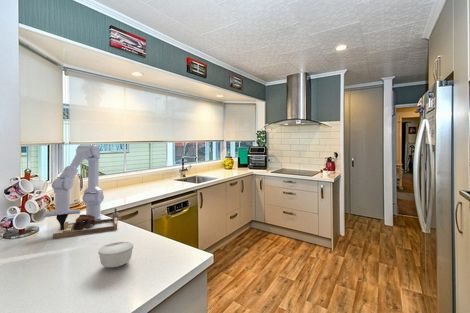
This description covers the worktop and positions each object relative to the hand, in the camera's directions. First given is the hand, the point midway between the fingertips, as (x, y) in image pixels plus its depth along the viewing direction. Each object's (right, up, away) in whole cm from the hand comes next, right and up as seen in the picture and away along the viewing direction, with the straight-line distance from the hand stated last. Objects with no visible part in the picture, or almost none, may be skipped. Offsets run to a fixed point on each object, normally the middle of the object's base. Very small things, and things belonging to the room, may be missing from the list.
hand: (62, 229), depth 112 cm
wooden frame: (+10, -1, +5) cm, 11 cm away
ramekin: (+43, -2, -31) cm, 54 cm away
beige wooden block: (+2, -1, +1) cm, 3 cm away
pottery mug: (+8, -2, +4) cm, 9 cm away
